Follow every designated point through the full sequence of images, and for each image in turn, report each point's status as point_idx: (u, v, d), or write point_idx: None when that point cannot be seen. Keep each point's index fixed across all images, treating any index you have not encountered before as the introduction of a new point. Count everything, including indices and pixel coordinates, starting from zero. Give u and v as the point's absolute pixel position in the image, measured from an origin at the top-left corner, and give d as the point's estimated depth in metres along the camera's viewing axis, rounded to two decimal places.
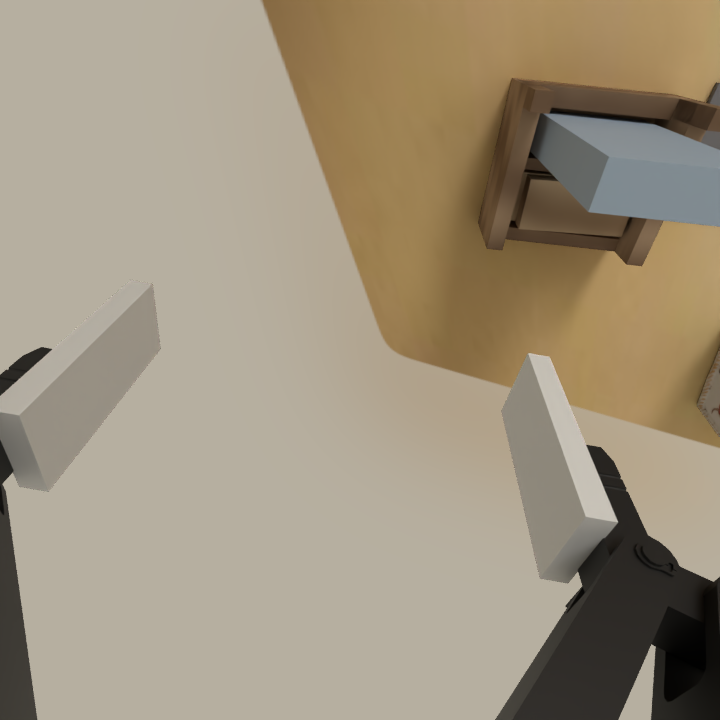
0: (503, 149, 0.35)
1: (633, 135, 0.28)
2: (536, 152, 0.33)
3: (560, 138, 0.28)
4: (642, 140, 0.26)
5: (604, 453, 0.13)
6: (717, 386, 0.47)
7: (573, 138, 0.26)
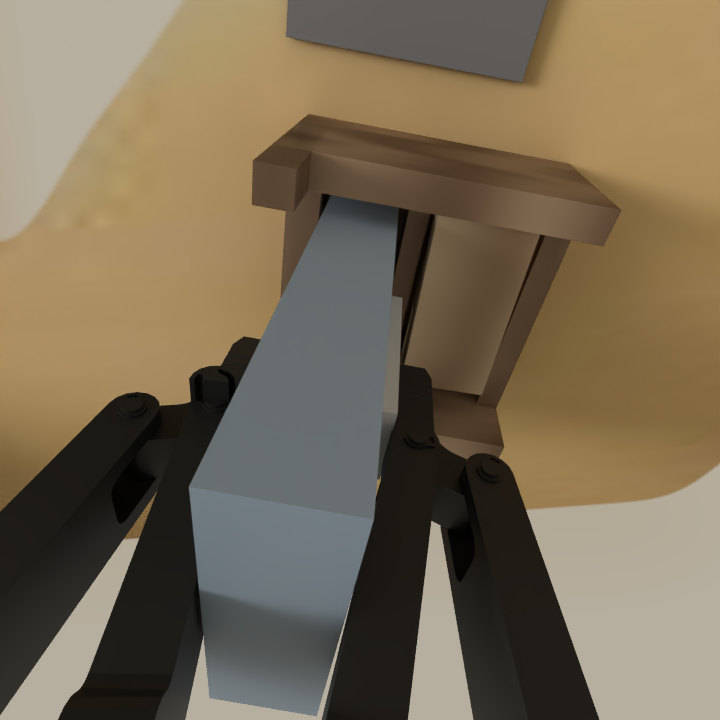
0: None
1: None
2: None
3: None
4: None
5: (425, 372, 0.15)
6: None
7: None
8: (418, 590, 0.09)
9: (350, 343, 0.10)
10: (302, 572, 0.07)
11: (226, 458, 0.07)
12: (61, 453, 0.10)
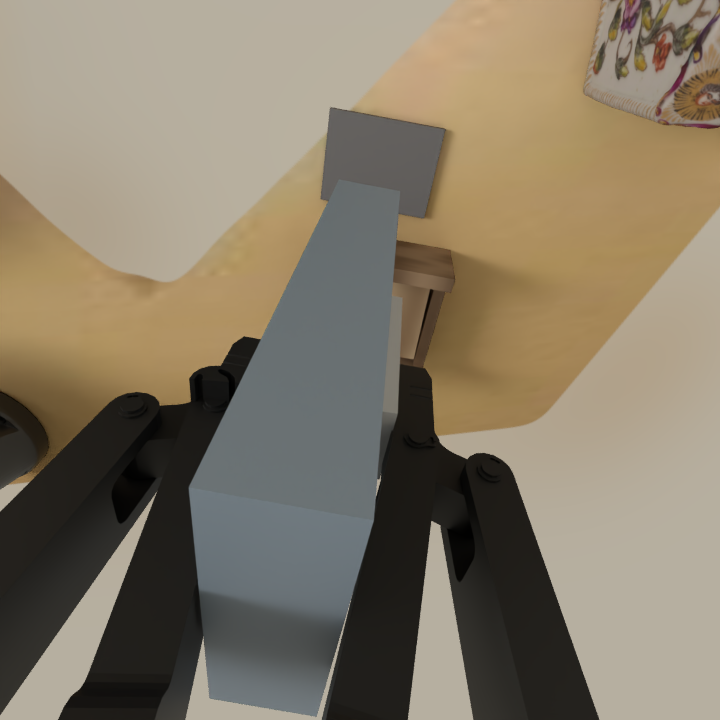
0: None
1: None
2: None
3: None
4: None
5: (425, 372, 0.15)
6: None
7: None
8: (418, 590, 0.09)
9: (350, 343, 0.10)
10: (302, 574, 0.07)
11: (226, 459, 0.07)
12: (61, 453, 0.10)
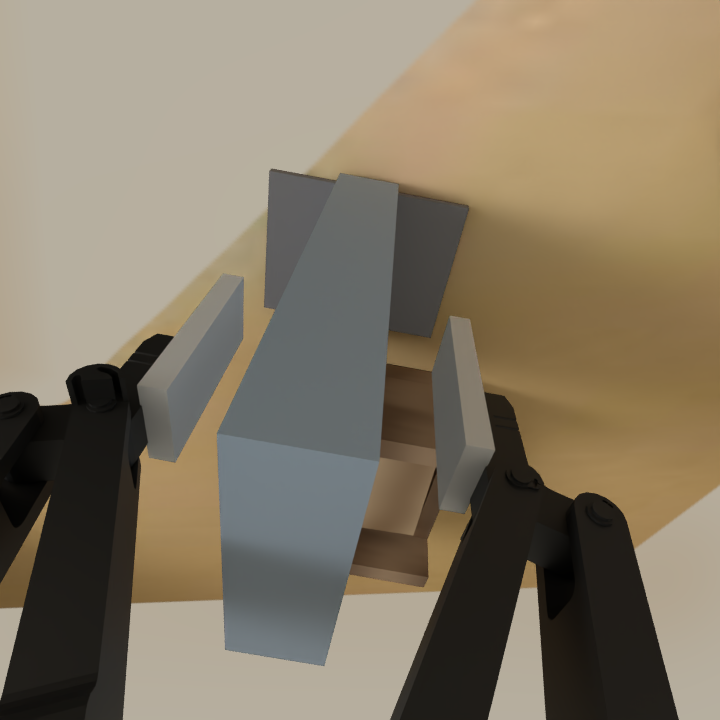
0: None
1: None
2: None
3: None
4: None
5: (506, 400, 0.14)
6: None
7: None
8: (503, 635, 0.08)
9: (354, 318, 0.11)
10: (315, 516, 0.08)
11: (248, 411, 0.08)
12: None
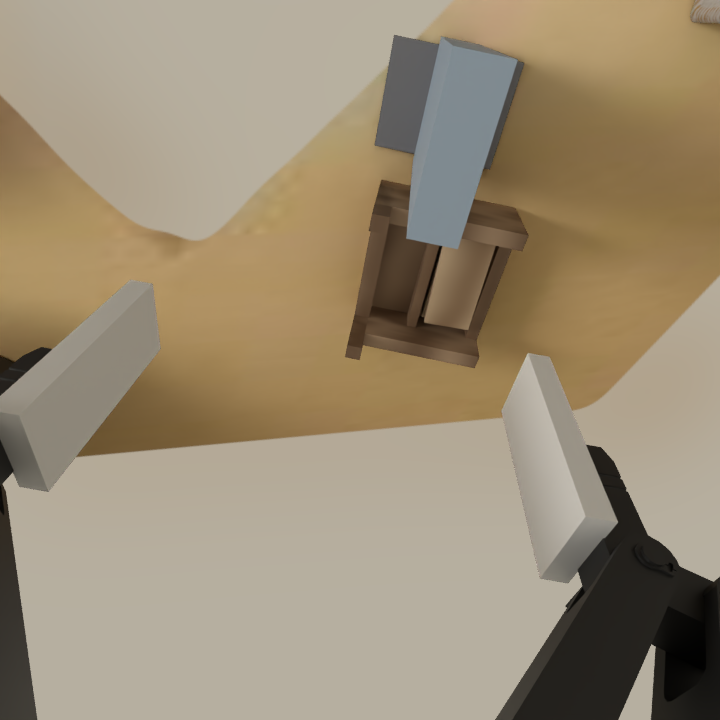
0: None
1: (426, 123, 0.27)
2: None
3: None
4: (425, 130, 0.25)
5: (604, 453, 0.13)
6: None
7: None
8: None
9: (486, 50, 0.21)
10: (482, 104, 0.19)
11: (460, 46, 0.19)
12: None
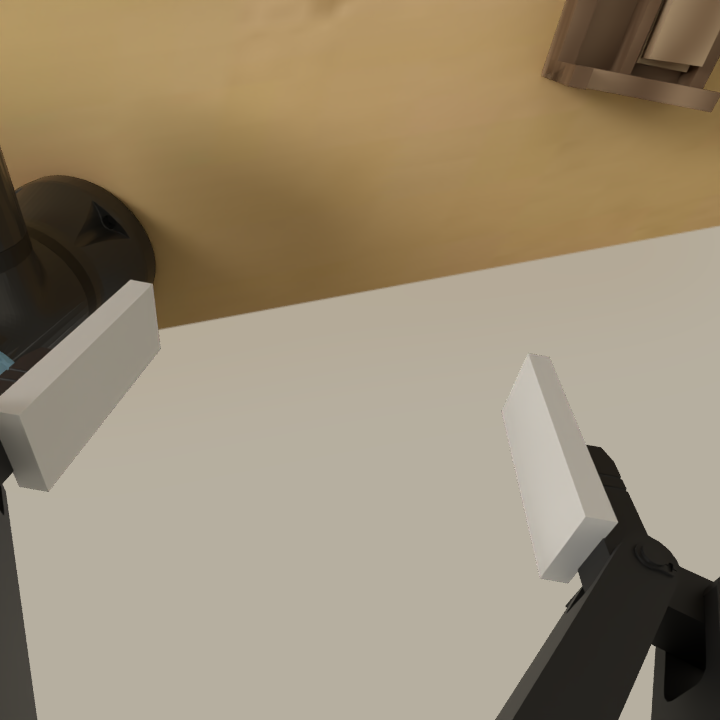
0: None
1: None
2: None
3: None
4: None
5: (604, 453, 0.13)
6: None
7: None
8: None
9: None
10: None
11: None
12: None
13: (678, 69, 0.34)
